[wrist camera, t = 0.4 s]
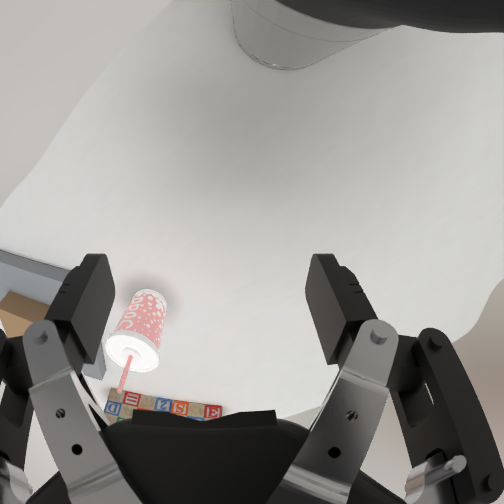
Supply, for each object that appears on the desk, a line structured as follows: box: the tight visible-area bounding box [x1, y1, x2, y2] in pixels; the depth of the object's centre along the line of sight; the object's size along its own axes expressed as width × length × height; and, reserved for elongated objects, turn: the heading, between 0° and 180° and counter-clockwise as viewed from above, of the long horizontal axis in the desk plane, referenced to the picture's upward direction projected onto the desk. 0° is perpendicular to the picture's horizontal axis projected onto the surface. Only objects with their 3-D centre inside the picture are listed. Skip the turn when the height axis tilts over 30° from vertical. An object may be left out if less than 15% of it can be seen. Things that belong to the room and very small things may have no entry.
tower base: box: [0, 250, 106, 380], centre depth 34 cm, size 20×20×6 cm
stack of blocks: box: [104, 388, 222, 424], centre depth 43 cm, size 21×6×12 cm, turn 82°
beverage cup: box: [105, 289, 167, 394], centre depth 29 cm, size 6×6×14 cm
